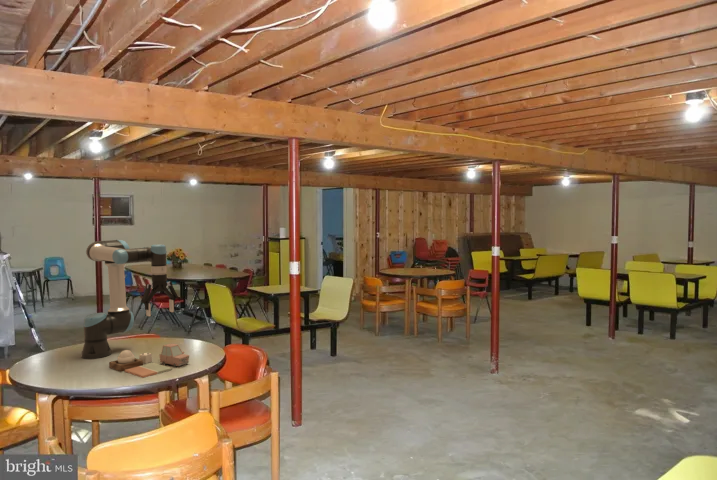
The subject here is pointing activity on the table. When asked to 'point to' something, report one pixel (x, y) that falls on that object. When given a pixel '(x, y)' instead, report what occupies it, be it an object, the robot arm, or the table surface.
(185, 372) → the table surface
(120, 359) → the dome
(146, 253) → the robot arm
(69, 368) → the table surface
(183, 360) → the toy car
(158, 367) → the board
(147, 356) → the die
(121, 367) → the dome housing
